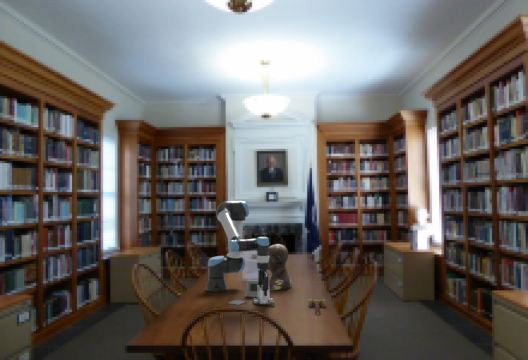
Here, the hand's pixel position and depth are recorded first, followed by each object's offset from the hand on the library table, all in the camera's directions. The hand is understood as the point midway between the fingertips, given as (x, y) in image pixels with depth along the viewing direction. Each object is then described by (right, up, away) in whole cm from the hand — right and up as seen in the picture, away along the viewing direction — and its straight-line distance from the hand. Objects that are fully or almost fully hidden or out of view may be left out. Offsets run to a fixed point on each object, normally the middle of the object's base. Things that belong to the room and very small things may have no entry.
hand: (263, 299), depth 241 cm
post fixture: (0, -3, 0) cm, 3 cm away
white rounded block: (0, -2, 0) cm, 2 cm away
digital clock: (-4, -4, +18) cm, 19 cm away
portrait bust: (+11, -6, +53) cm, 54 cm away
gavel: (+32, -3, -13) cm, 35 cm away
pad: (-17, -3, +3) cm, 17 cm away
